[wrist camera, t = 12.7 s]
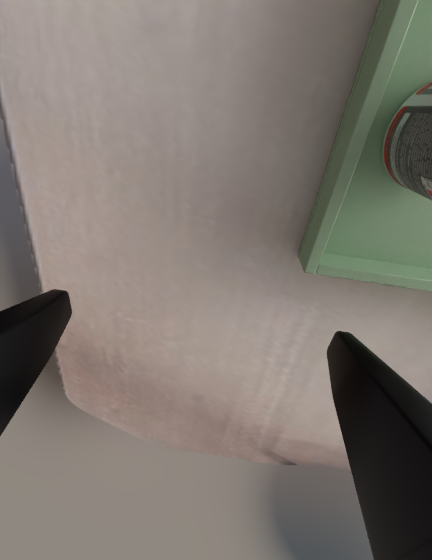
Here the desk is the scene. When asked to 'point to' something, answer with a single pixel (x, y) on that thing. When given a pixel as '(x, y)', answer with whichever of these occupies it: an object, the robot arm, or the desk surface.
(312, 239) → the tray
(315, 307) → the desk surface
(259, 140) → the desk surface
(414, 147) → the pill bottle
